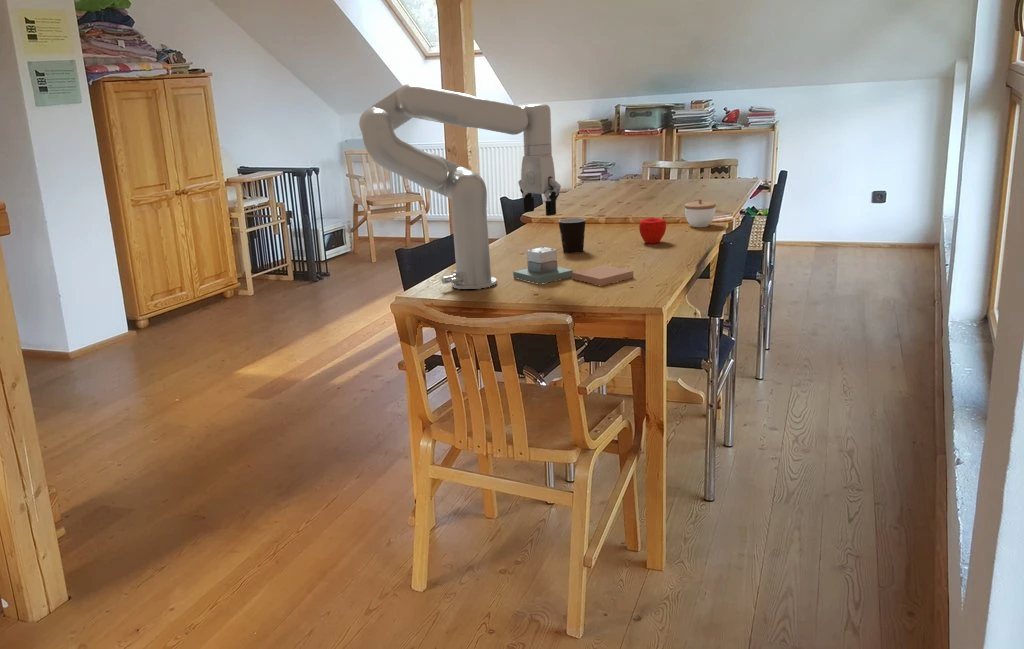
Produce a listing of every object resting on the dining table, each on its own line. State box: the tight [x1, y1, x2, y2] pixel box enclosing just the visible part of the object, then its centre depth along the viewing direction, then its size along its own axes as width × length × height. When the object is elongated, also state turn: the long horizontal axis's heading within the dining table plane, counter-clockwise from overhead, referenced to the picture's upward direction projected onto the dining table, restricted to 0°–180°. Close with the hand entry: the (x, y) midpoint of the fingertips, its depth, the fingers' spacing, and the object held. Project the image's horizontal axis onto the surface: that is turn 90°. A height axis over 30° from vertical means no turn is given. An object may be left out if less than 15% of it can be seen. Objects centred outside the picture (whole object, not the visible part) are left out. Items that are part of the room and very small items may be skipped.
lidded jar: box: [684, 198, 717, 228], centre depth 304 cm, size 11×11×9 cm
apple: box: [638, 217, 667, 244], centre depth 281 cm, size 9×9×8 cm
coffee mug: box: [557, 217, 586, 254], centre depth 277 cm, size 12×9×10 cm
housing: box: [526, 246, 559, 274], centre depth 243 cm, size 6×6×6 cm
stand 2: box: [571, 264, 634, 287], centre depth 238 cm, size 12×12×2 cm
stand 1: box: [512, 266, 574, 285], centre depth 244 cm, size 12×12×2 cm
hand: (539, 213), depth 240 cm, fingers open, 9 cm apart
